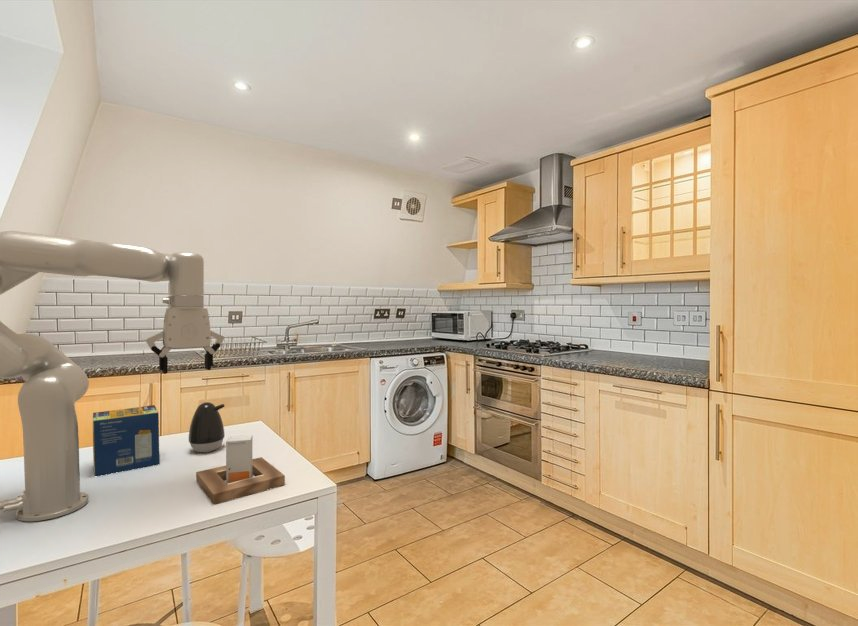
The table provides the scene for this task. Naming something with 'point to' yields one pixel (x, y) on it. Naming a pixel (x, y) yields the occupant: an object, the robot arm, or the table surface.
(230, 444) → the skincare box
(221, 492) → the wooden square frame
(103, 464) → the protein box
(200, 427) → the pump dispenser
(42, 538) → the table surface
